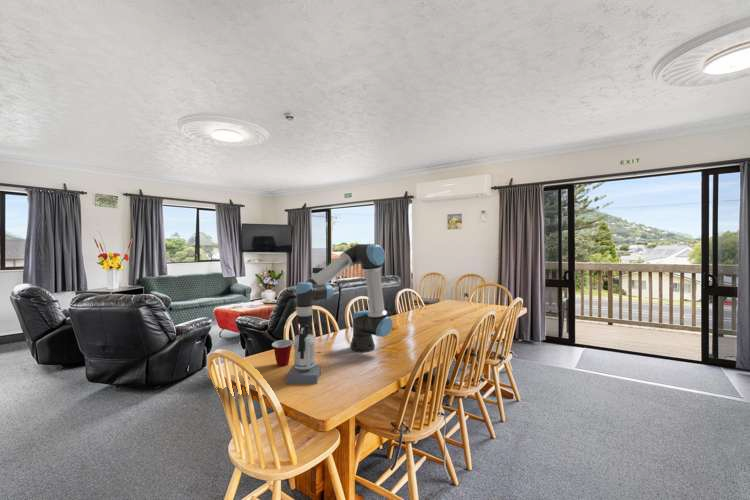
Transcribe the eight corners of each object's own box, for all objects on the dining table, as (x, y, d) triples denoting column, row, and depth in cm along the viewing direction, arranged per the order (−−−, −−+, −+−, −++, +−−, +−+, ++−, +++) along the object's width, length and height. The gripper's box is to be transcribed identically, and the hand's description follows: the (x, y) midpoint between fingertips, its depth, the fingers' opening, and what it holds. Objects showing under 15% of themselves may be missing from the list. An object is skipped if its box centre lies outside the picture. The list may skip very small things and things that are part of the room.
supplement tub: (308, 361, 172) (308, 332, 172) (318, 367, 164) (318, 336, 164) (290, 366, 166) (290, 335, 165) (300, 371, 158) (299, 340, 158)
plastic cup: (267, 367, 180) (267, 344, 179) (279, 360, 190) (279, 338, 190) (285, 369, 176) (285, 346, 176) (296, 362, 186) (296, 340, 186)
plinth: (321, 372, 172) (321, 364, 172) (316, 383, 158) (316, 375, 158) (293, 372, 172) (293, 364, 172) (286, 383, 158) (286, 375, 158)
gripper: (301, 310, 176) (301, 353, 176) (291, 319, 154) (291, 369, 154) (315, 310, 176) (315, 353, 176) (308, 319, 154) (308, 369, 154)
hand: (304, 361), depth 165 cm, fingers closed on supplement tub, 9 cm apart
